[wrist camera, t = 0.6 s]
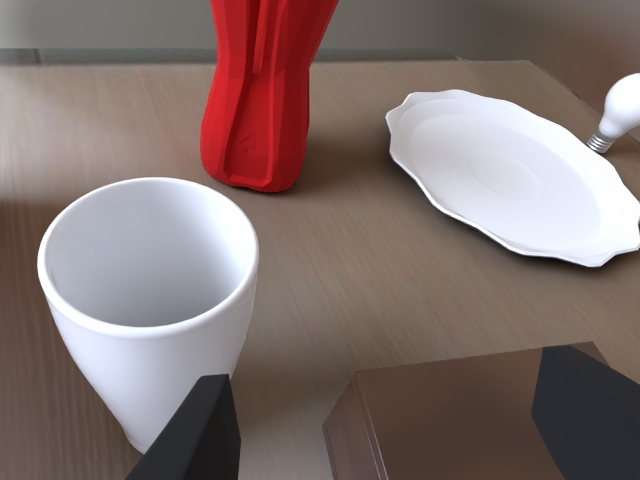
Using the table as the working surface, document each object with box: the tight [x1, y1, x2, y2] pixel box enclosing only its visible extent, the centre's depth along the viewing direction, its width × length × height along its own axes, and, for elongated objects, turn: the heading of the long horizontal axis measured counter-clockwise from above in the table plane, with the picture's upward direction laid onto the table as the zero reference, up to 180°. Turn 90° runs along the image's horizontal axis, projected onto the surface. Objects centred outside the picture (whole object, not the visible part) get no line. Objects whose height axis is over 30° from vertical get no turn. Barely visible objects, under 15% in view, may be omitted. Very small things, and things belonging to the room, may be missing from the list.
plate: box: [385, 89, 640, 268], centre depth 48 cm, size 29×29×2 cm
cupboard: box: [322, 341, 610, 480], centre depth 22 cm, size 10×15×8 cm, turn 103°
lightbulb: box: [587, 73, 640, 153], centre depth 54 cm, size 6×6×11 cm
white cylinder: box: [37, 177, 259, 454], centre depth 19 cm, size 7×7×15 cm
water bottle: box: [200, 0, 339, 192], centre depth 31 cm, size 9×11×25 cm
